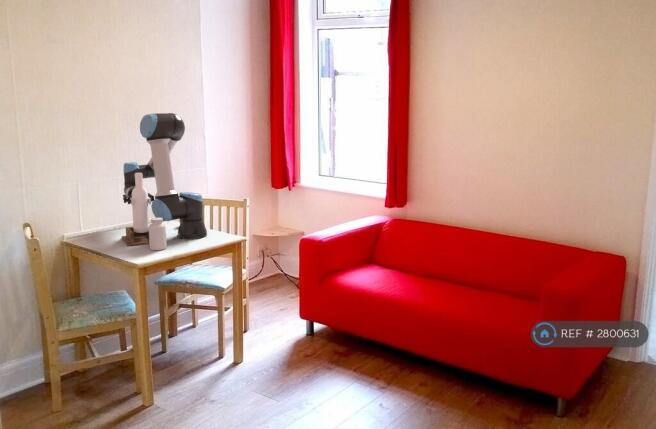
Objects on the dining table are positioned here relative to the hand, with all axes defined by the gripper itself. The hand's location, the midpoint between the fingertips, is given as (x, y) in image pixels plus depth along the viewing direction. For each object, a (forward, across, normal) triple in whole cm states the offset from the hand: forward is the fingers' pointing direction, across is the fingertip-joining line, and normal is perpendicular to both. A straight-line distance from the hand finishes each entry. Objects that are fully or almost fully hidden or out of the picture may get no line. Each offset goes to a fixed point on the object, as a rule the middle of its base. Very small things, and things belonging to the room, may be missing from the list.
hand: (141, 202), depth 302 cm
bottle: (-5, 0, -16) cm, 17 cm away
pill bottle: (+14, -5, -21) cm, 26 cm away
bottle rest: (-4, 0, -21) cm, 21 cm away
